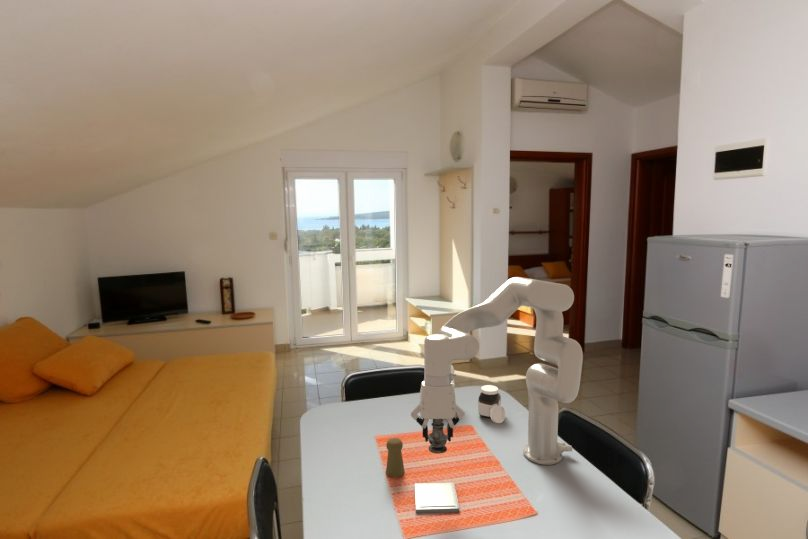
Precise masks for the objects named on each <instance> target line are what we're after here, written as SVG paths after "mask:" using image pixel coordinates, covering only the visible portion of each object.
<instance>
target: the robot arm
mask: <svg viewBox="0 0 808 539" xmlns="http://www.w3.org/2000/svg"><path fill="white" fill-rule="evenodd" d="M574 301H575V294H574V291H573V289H572V288H571V287H570V286H569V285H568V284H565V283H564V284H563V283H558V282H557V283H556V282H551V281H546V280H540V279H535V278H528V277H522V276H514V277H511V278H509V279H507V280H505V282H503V284H501V285H500V286H499V287H498V288H497V289H496V290H495V291H493V292H492V293H491V295H489V296H488V297H487V298H486V299H485V300H484V301H482V302H481V303H479V304H477V305H474V306H472V307H469V308H467V309H465V310H463V311H461V312H459V313H457V314H455V315H454V316H453V317H450V319H449V320H448V321H446V322H445V323H444V324H443V325H442V326H441V327H440V328H439V330H438V331H437V333H433V334H429V335H427V336H426V337H425V338H424V343H423V345H424V348H423V351H424V353H423V354H424V355H423V357H424V358H423V359H424V361H423V362H424V365H423V366H424V367H423V368H424V372H423V374H424V378H423V381H421V384H420V390H419V404H418V405H417V406H416V407H415V408H414V409H413V410H412V412H410V416H411V418H412V419H413V420H414V421H416V423H418V425H420V426H421V428H422V438H424V441H425V443H427V442H429V439H428V435H429V427H428V424H429V422H430V421H429V420H433V419H443V420H447V422H448V423H447V425H446V426H447V428H446V431H447V432H446V435H447V436H448V439H447V442H451V441H452V438H453V437H454V428H455V426H456V425H457V424H458V423H459V422H460V420H462V419H463V418H464V417H465V415H466V414H465V412H464V410H462V409H461V408H460V406H458V405H457V403H456V402H457V401H456V393H455V391H454V385H455V383H454V384H453V382H452V380H454V381H455V380H457V374H455V373H454V374H452V373H451V365H452V362H453V361H468V360H472V359H474V358H475V357H476V356H477V355H478V353H479V351H480V343H479V340H478V339H477V337H475V336H474V335H472V334H470V332H472V331H475V330H477V329H483V328H494V327H498V326H501V325H503V324H504V323H505V322H506V321H507V319H509V318H510V317H511V316H512V315H513V314H514V313H515V312H516V311H517V310H518V309H519V308H520V307H526V308H532V309H533V310H534V313H535V317H536V319H535V320H536V321H535V322H536V323H535V324H536V326H535V334H534V341H533V342H534V343H533V352H534V355H535V357H536V358H538V359H539V360H542V361H543V362H547V363H549V364H552V365H555V366H557V367H553V366H552V365H549V364H545V363H542V362H541V363H539V362H538V363H534V364H532V365H530V366H529V367H528V369H527V371H526V374H525V383H526V387H527V394H528V424H527V425H528V430H527V431H528V432H527V433H528V434H527V439H528V440H527V444H526V445H525V446H524V447H523V452H522V453H523V456H524V457H525V458H526V459H528V461H529V462H532V463H535V464H539V465H544V466H546V465H547V466H550V465H555V464H558V463H560V462H561V461H562V459H563V452H568V453H569V452H573V447H572V445H570V444H569V445H566V442H559V441H558V440H559V439H558V436H559V432H558V431H559V430H558V429H559V428H558V427H559V403H562V404H570V403H572V402H574V400H576V398H577V396H578V394H579V391H580V386H581V378H582V371H583V370H582V369H583V361H584V360H583V359H584V354H583V348H582V346H581V344H580V343H579V342H578V341H577V340H576V339H573V338H570V337H566V336H564V333H563V332H564V315H563V312H565V311H568V310H569V309H570V308H571V307H572V305H573V304H574ZM419 413H420V415H418V414H419ZM456 414H457V415H456Z"/></svg>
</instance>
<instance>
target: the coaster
mask: <svg viewBox="0 0 808 539" xmlns="http://www.w3.org/2000/svg"><path fill="white" fill-rule="evenodd" d="M455 486H456V485H455V482H433V483H432V482H428V483H414V498H415V513H416V514H421V513H422V514H424V513H427V514H429V513H431V514H432V513H459V512H460V506H459V501H458V496H457V490H456V487H455Z"/></svg>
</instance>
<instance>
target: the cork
mask: <svg viewBox="0 0 808 539" xmlns="http://www.w3.org/2000/svg"><path fill="white" fill-rule="evenodd" d="M403 445H404V444H403V441H402V439H400V438H398V437H390V438H389V439H388V440H387V441H386V446H385V447H386V449H387V460H386V468H385V475H387V476H388V477H390V478H393V479H395V478H400V477H402V476H403V475H405V466H404V459H403V453H402V449H403Z"/></svg>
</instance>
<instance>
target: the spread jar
mask: <svg viewBox="0 0 808 539" xmlns="http://www.w3.org/2000/svg"><path fill="white" fill-rule="evenodd" d="M480 389H481V390H480V393H479V395H478V401H477V409H478V410H477V411H478V415H479V416H480V417H482V418H483V419H485V420H491V421H492V422H493V423H496V424H501V423H503V422H504V421H505V419H506V416H507V413H506V410H505V408H504V407H503V405H502V396H501V394H500V393H499V388H498V387H497V386H495V385H493V384H486V385H482V386H481V388H480Z"/></svg>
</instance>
